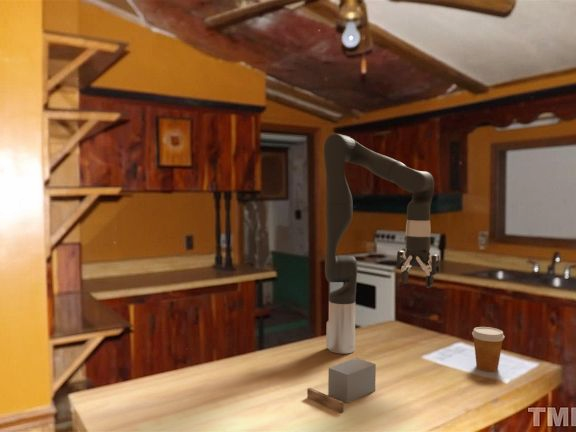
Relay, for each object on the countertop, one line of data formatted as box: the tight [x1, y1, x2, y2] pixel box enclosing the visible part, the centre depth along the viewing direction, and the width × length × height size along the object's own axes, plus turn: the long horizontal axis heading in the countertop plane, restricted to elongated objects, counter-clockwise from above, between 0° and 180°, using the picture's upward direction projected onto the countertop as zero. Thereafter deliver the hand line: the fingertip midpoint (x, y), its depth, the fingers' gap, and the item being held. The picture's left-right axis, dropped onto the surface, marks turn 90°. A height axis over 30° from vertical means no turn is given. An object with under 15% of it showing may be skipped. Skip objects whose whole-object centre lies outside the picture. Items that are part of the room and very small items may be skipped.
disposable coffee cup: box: [471, 326, 505, 372], centre depth 154 cm, size 10×10×12 cm
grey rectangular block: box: [327, 357, 377, 404], centre depth 135 cm, size 7×12×8 cm, turn 132°
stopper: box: [306, 387, 344, 414], centre depth 127 cm, size 12×1×2 cm, turn 42°
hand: (416, 285), depth 154 cm, fingers open, 8 cm apart
